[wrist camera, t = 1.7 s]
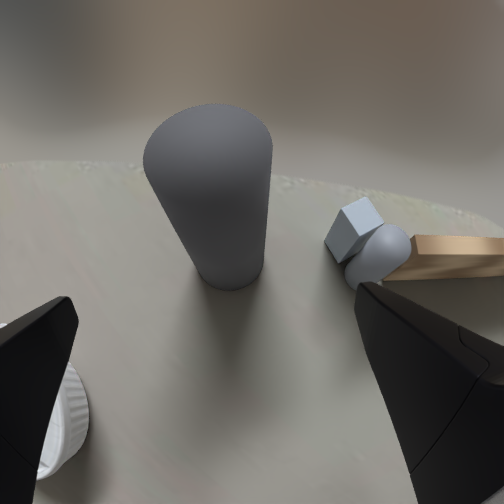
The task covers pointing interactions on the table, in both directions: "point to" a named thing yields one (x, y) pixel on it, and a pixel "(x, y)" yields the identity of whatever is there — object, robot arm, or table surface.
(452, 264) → the door
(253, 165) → the gray cylinder
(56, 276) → the table surface
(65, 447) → the ramekin
